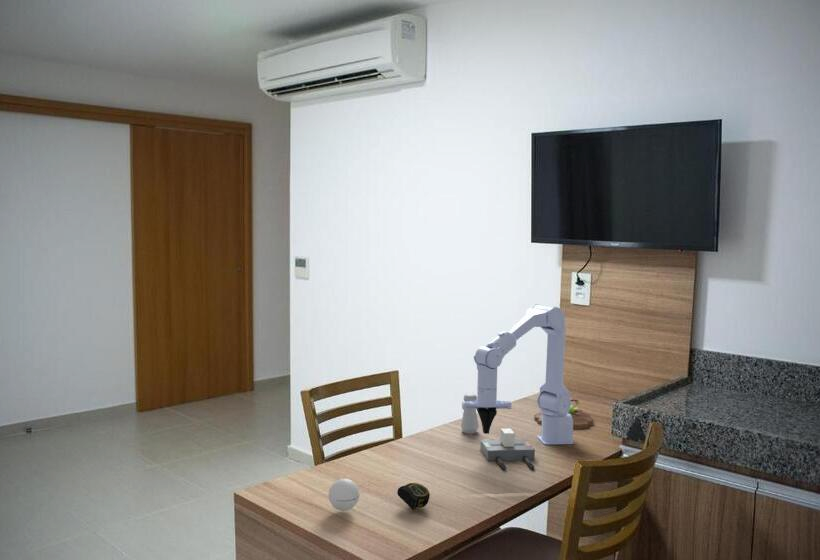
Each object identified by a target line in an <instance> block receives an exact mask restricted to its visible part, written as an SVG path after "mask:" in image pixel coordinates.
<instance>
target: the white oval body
mask: <svg viewBox="0 0 820 560" xmlns="http://www.w3.org/2000/svg"><path fill="white" fill-rule="evenodd" d="M369 492H371V491H370V490H369V491H367V493H369ZM364 493H365V491H363V492H361V493H360V490H359V487H358V485H357V484H356V483H355V482H354V480H352V479H349V478H340V479H337V480H336V481H334V482H333V483H332V484H331V485H330V488H329V490H328V500H329V503H330V504H331V506H332V507H333V508H334V509H336V510H338V511H340V512H344V511H345V512H346V511H349V510H352V509H353V508H355V506H356V505H357V503H358V502H359V500H360V498H359V497H360V494H364Z"/></svg>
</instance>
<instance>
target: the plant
mask: <svg viewBox="0 0 820 560" xmlns="http://www.w3.org/2000/svg"><path fill="white" fill-rule="evenodd" d="M570 401H571V402H575V405H580V401H579V400H578V399H575V398H574V399H572V398H571V399H570ZM573 406H574V405H573V404H571V408H570V410H569V412H568V413H567V414H571V416H572V419H573V430H584V429H585V430H586V429H588V428H589V427H591V426H593V420H592V417H591V414H590V413H587V412H584V411H582V410H580V409H579V407H578V406H577V407H575V408H574V407H573ZM578 409H579V410H578ZM533 420H534V421H535V422H536V423H537V424H538V425H540V426H542V412H541V409H540V410H539V412H538V413H536V414H534V418H533Z"/></svg>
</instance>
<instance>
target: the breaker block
mask: <svg viewBox="0 0 820 560" xmlns="http://www.w3.org/2000/svg"><path fill="white" fill-rule="evenodd" d="M535 451H536V450H535V448H534V447H533V446H532V444H530V442H529V441H528V440H527V439H526V438H521V439H519V438H518V439H517V438H515V439H514V447H504V446H503V444H502V443H501V442H500V439H480V452H481V453H482V454H483V456H484V458H485V459H486V460H487V461H488V462H489V461H491V462H492V461H497V460H496V457H497V456H498V457H500V459H501V460H502V461H524V460H523V456H526V457H527V458H528V459H529V461H530V460H531V461H532V460H533V461H534V460H535V458H536V455H535V454H536V452H535Z"/></svg>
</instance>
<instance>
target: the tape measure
mask: <svg viewBox="0 0 820 560" xmlns="http://www.w3.org/2000/svg"><path fill="white" fill-rule="evenodd" d="M430 495H431V494H430V491H429V489H428V488H427V486H425V485H423V484H420V483H418V482H411V483H410V482H409V483H407V484H405V485H402V486H400V487H399V488H398V489H397V496H398V497H399V498H400V499H401V500H402V501H403V502H404V503H405V504H406V505H408V507H409V508H410V509H411V510H416V509H421V508H424V507H426V505H427V504H428V503H429V501H430Z"/></svg>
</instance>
